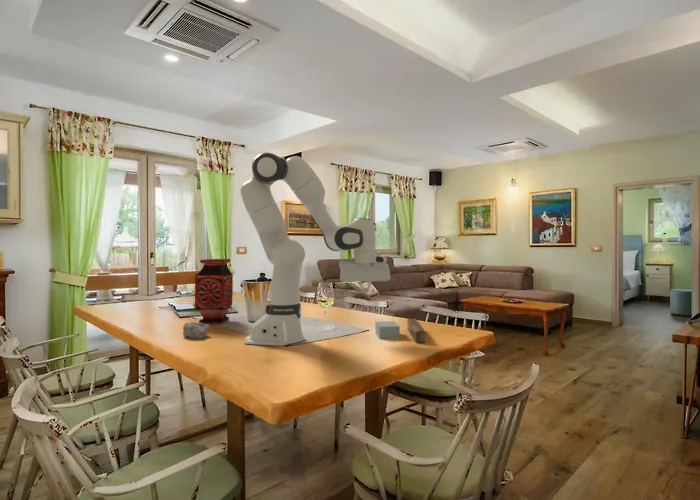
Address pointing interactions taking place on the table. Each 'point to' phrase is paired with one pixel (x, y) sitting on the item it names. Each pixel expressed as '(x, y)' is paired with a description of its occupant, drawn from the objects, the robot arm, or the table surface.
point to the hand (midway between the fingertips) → (365, 292)
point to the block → (387, 330)
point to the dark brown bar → (416, 331)
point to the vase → (214, 291)
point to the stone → (195, 330)
